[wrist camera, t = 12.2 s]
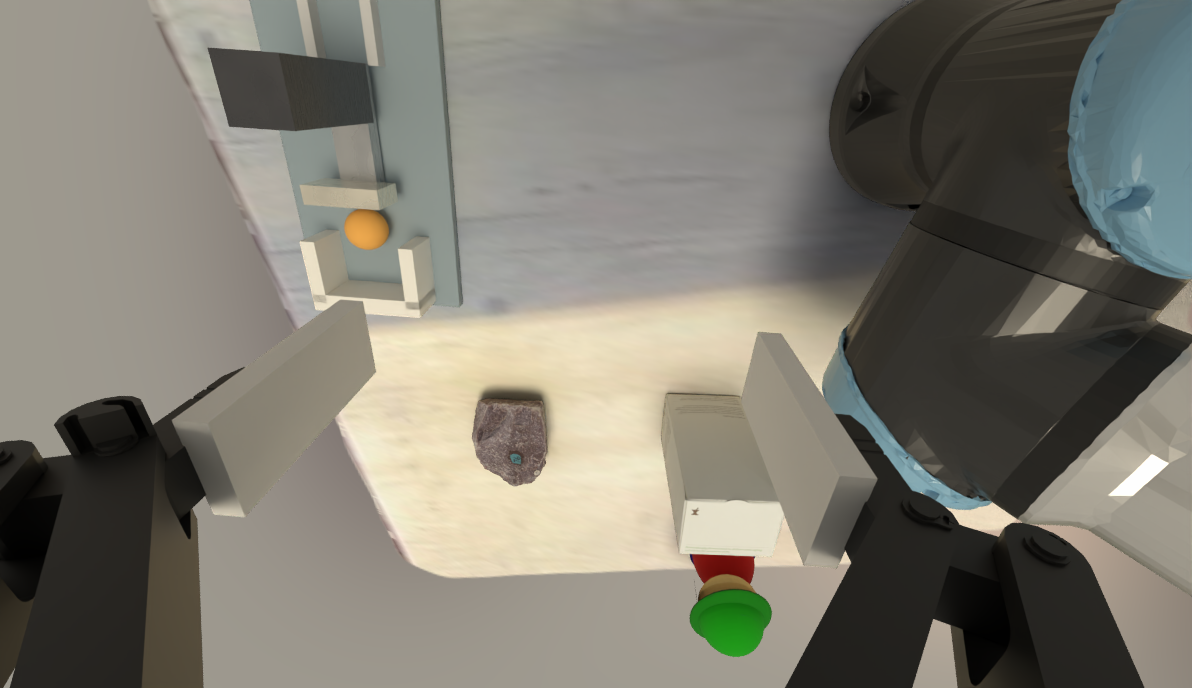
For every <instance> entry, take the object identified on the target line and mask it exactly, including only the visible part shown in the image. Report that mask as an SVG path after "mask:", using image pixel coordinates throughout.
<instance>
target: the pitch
mask: <svg viewBox="0 0 1192 688" xmlns="http://www.w3.org/2000/svg"><path fill="white" fill-rule="evenodd" d="M249 1H250V5H251V10H252V14H253V18H254V23H255V27H256V31H257V36H258V40H259V44H260V49H261V51H263V52H277V53H286V54H293V55H301V56H309V57H317V58H325V59H333V60H341V61H349V62H357V63H365V64H368V65H369V72H370V80H371V87H372V94H373V101H374V108H375V115H376V122H377V129H378V136H379V143H380V150H381V157H382V164H383V171H384V178H385V182H386V183H396V191H397V198H398V202H396V203H394V204H392V205H390V206H388V207H386V208H383V209H381V210H374V211H376V212H378V213H379V214H381V215H382V216H383V217H384V219H385V220H386V222H387V224H388V227H389V235H388V238H387V240H386V242H385V243H384V244H383V245H382V246H381V247H379V248H377V249H373V250H365V249H361V248H358V247H356V246H355V245H353V244H352V243H351V242H350V241H349V240H348V238H347V236H346V234H345V230H344V224H345V220H346V218H347V217H348V215H349V214H350V213H351V212H353V211H355V210H357V209H356V208H342V207H329V206H315V205H304V203H303V198H302V194H301V189H300V184H304V183H308V182H311V181H315V180H319V179H322V178H331V179H341V178H340V173H339V167H338V162H337V156H336V151H335V146H334V140H333V135H332V129H331V127H330V128H321V129H312V130H302V131H285V130H279V131H280V135H281V140H282V144H283V148H284V153H285V157H286V161H287V166H288V170H289V174H290V179H291V183H292V187H293V192H294V196H295V200H296V205H297V209H298V213H299V218H300V222H301V226H302V231H303V235H304V239H306V238H308V237H310V236H313V235H315V234H317V233H319V232H322V231H324V230H326V229H327V230H339V232H340V237H341V242H342V248H343V253H344V258H345V263H346V268H347V273H348V278H349V280H359V281H372V282H385V283H398V284H403V283H402V276H401V269H400V262H399V254H398V248H400V247H401V246H403V245H404V244H406V243H407V242H409V241H410V240H411V239H413V238H414V237H416V236H420V237H429V238H430V247H431V257H432V266H433V276H434V285H435V295H436V302H435V303H434V304H433V305H436V306H449V307H460V306H461V305H462V303H463V302H462V289H461V276H460V263H459V250H458V237H457V224H456V211H455V198H454V185H453V172H452V159H451V146H450V133H449V120H448V107H447V94H446V81H445V68H444V55H443V42H442V29H441V16H440V3H439V0H249Z"/></svg>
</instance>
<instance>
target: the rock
mask: <svg viewBox="0 0 1192 688" xmlns="http://www.w3.org/2000/svg"><path fill="white" fill-rule="evenodd" d="M472 440H473V442H474V445H475V450H476V456H477V458H478V459H479V460H480V463H481V464H482V465H483V466H484V469H487V470H489V471H490V472H492V473H494V474H497V475H499V476H500V477H501V478H503V480H504V481H506V482H508V483H509V484H510V485H512V486H518V485H522V484H528V483H532V482H533V481H535V479H536V477H538V476H539V475H540V473H541V471H542V468H543V467H544V466H545V464H546V461H545V455H546V453H547V439H546V424H545V413H544V406H543V401H538V400H537V401H527V400H524V401H521V400H511V399H494V398H490V399H484V400H480V401H478V406H477V408H476V415H475V420H474V427H473V433H472Z"/></svg>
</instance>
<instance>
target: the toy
mask: <svg viewBox="0 0 1192 688" xmlns="http://www.w3.org/2000/svg"><path fill="white" fill-rule="evenodd" d="M690 558H691V561H692V562H693V564H694V566H695V568H696V571H697V573H698V575H699V577H700V578H701V580H702V581H703V583H704V585H703V587H702V588H701V590H700V592H699V597H698V602H697V603H696V604H695V605H694V607H693V608H692V610H691V614H690V623H691V626H692V628H693V629H694V631H695V632H696V633H697V634H699V635H700V636H702V637H704V638H706V640H707V641H708V642H709V644H710V645H711V646H712V647H713V648H714V649H716V650H717V651H719V652H721V653H722V654H725V655H728V656H733V657H740V656H744V655H747V654H749V653H751V652H752V651H754V649H756V647H757V646H758V645H759V643H760V641H761V639H762V636H763V631H764V629H765V628H766V626H767V625H768V624H769V622H770V620H771V615H772V611H771V607H770V605H769V603H768V602H767V601H766V600H765V599H764V598H763V597H762V596H760V595H759V594H757V593H756V592H755V591H754V589H753V588H752V586H751V585H750V583H751V581H752V578H753V574H754V558H755V556H734V555H708V554H690Z"/></svg>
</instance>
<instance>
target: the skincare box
mask: <svg viewBox="0 0 1192 688" xmlns="http://www.w3.org/2000/svg"><path fill="white" fill-rule="evenodd" d="M661 442H662V448H663V454H664V461H665V467H666V474H667V480H668V487H669V493H670V499H671V505H672V512H673V518H674V525H675V531H676V537H677V544H678V550H679V554H708V555H734V556H757V557H772V556H773V552H774V549H775V546H776V543H777V539H778V536H779V533H780V529H781V526H782V522H783V519H784V513H783V510H782V507H781V505H780V502H779V500H778V497H777V494H776V492H775V489H774V487H773V484H772V481H771V479H770V476H769V474H768V471H767V468H766V466H765V463H764V461H763V458H762V455H761V453H760V450H759V447H758V445H757V442H756V440H755V437H754V434H753V432H752V429H751V427H750V424H749V421H748V419H747V416H746V414H745V411H744V408H743V406H742V403H741V398H740V397H739V396H715V395H687V394H667V395H666V399H665V406H664V415H663V425H662V435H661Z"/></svg>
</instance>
